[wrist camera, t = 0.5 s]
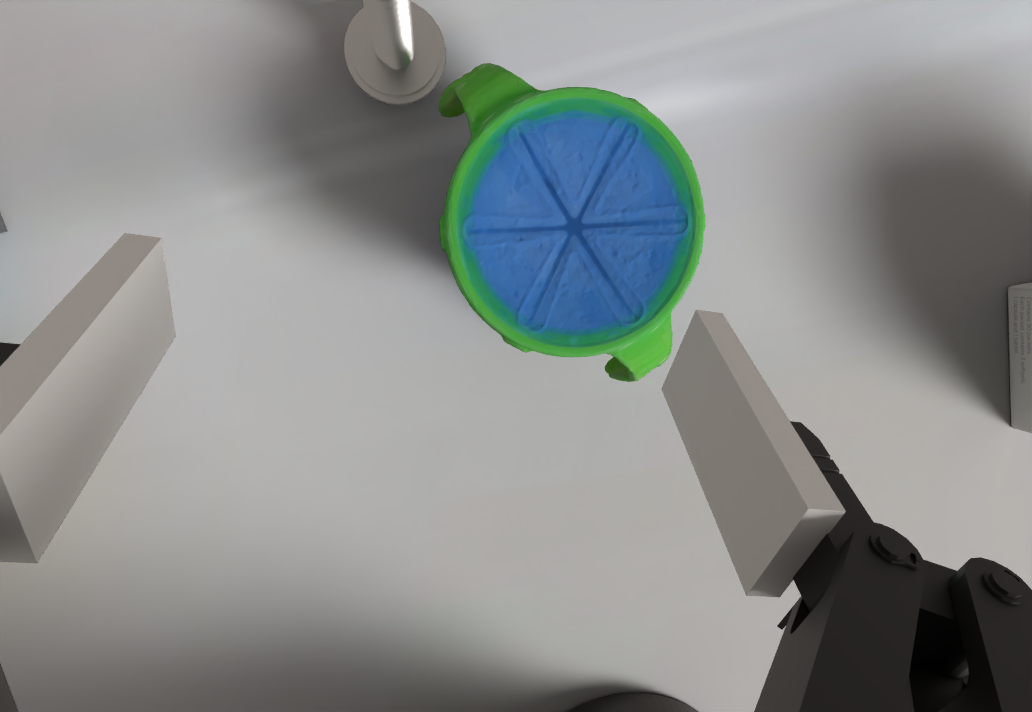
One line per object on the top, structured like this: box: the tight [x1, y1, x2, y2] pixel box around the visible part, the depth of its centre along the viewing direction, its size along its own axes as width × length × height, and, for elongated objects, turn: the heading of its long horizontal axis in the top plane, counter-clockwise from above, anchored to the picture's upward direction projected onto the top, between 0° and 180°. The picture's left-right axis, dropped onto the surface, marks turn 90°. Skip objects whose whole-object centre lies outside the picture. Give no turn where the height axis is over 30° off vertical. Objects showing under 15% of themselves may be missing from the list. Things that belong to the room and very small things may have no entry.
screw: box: [344, 0, 446, 105], centre depth 26 cm, size 13×5×5 cm
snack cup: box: [439, 63, 705, 382], centre depth 29 cm, size 16×10×10 cm
